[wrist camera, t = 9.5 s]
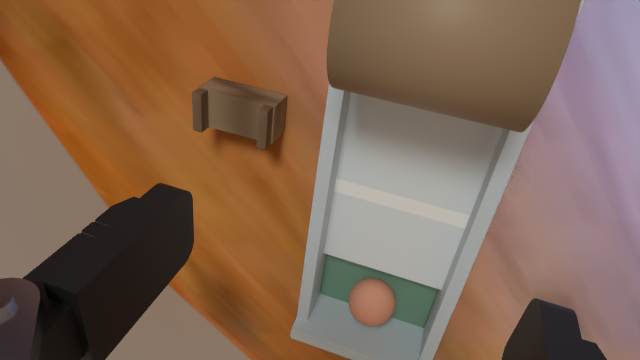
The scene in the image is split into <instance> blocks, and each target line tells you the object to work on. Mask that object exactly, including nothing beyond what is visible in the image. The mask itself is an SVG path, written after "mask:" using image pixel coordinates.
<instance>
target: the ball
mask: <svg viewBox="0 0 640 360" xmlns="http://www.w3.org/2000/svg"><path fill="white" fill-rule="evenodd" d="M348 302H349V308H350V311H351V313H352V315H353V316H354V318H355V319H356V320H357V321H359V322H360V323H362V324H364V325H367V326H379V325H382V324H384V323H385V322H387V321H388V320H389V319H390V318H391V316H392V315H393V313H394V311H395V307H396V298H395V295H394V292H393V290H392V288H391V287H390V286H389V285H388V284H387V283H386V282H384V281H383V280H381V279H378V278H365V279H362V280H360V281H359V282H357V283H356V284H355V285H354V286H353V288H352V289H351V291H350V294H349V300H348Z"/></svg>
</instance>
